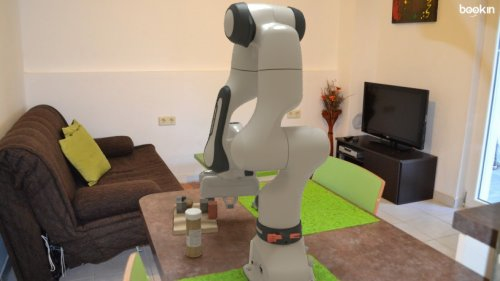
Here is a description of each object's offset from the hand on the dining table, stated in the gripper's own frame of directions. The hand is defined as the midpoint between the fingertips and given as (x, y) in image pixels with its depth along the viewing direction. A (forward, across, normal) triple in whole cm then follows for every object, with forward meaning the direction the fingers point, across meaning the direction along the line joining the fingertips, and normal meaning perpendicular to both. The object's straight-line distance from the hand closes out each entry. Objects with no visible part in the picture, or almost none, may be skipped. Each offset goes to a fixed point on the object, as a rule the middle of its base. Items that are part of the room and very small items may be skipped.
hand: (230, 208), depth 136 cm
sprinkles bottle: (+5, -13, -21) cm, 25 cm away
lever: (+3, -7, +6) cm, 10 cm away
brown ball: (+3, -14, +8) cm, 17 cm away
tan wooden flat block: (+5, -12, +3) cm, 13 cm away
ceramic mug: (+5, +14, +9) cm, 17 cm away
